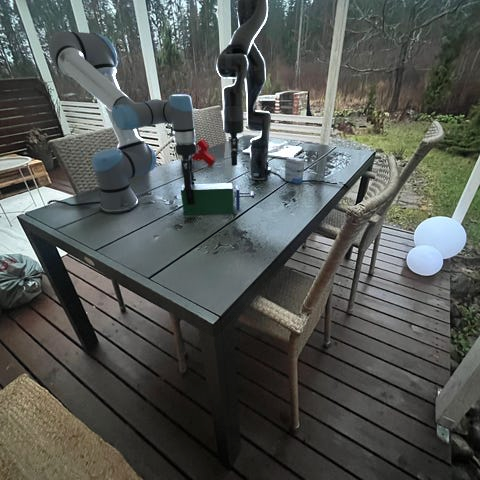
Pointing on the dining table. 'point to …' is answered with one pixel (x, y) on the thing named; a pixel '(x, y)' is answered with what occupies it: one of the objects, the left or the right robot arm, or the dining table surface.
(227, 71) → the right robot arm
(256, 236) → the dining table surface
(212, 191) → the cabinet
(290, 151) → the relief map
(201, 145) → the toy gun
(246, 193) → the drawer
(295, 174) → the ink box
